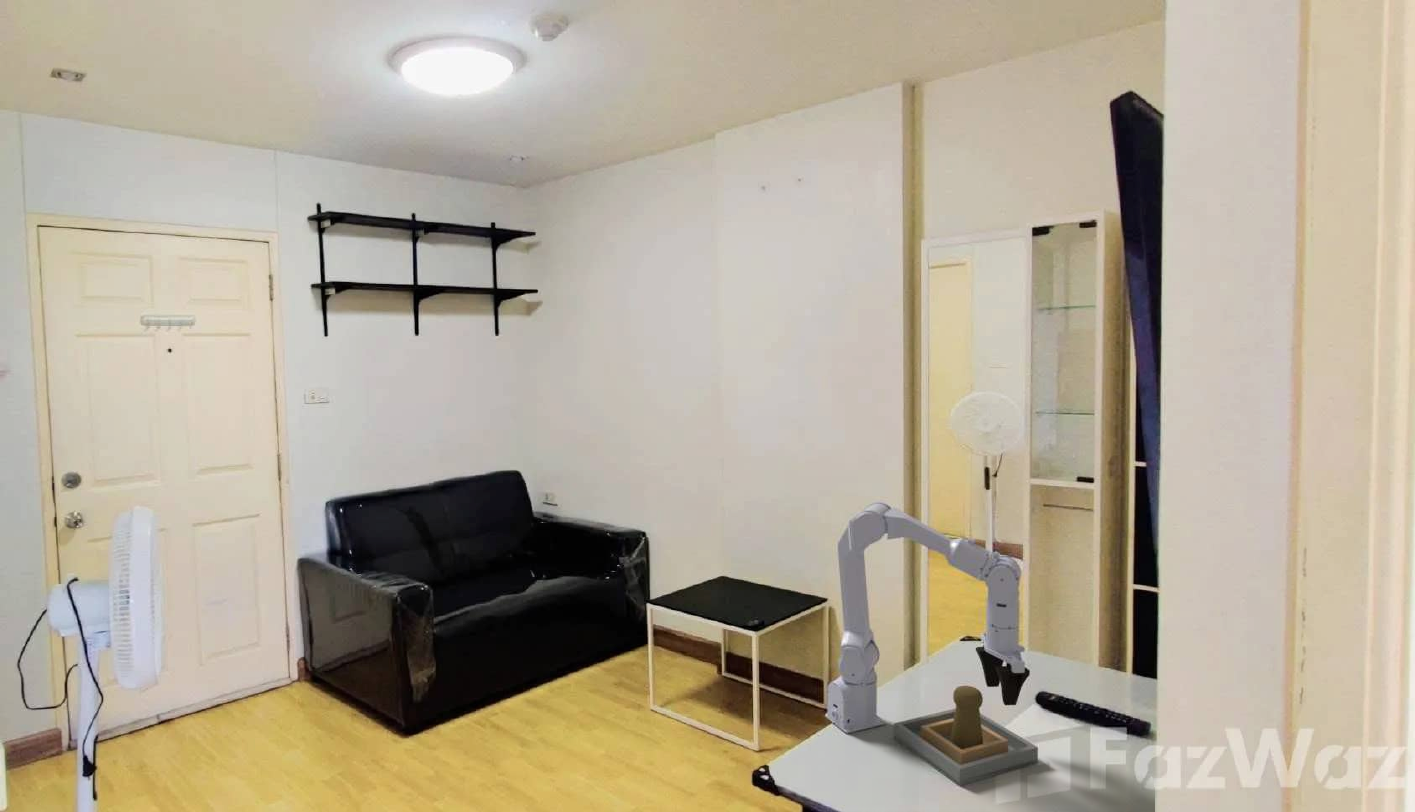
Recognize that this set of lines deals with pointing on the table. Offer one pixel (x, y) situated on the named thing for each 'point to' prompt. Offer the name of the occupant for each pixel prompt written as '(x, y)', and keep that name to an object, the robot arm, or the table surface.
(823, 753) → the table surface
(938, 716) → the tray
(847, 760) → the table surface
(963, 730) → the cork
